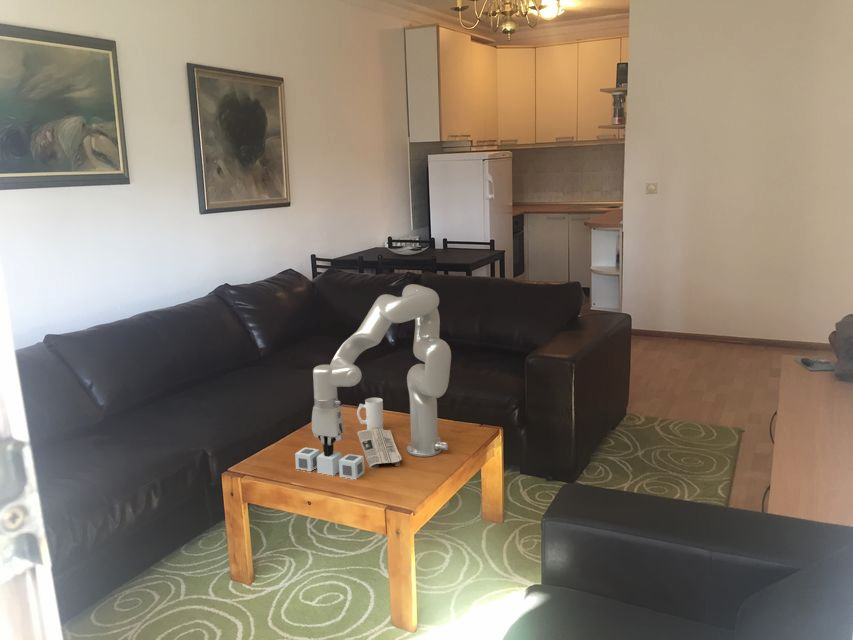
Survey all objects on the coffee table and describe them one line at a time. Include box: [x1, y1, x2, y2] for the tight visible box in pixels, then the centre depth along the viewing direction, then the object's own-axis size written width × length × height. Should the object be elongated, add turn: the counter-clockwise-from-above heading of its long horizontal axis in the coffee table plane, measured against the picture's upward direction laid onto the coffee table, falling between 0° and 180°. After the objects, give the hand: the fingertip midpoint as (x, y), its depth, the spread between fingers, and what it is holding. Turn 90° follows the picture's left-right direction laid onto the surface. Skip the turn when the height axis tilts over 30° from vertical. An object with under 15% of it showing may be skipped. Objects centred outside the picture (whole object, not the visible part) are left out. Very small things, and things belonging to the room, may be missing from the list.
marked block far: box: [294, 446, 321, 471], centre depth 250 cm, size 6×6×6 cm
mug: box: [356, 397, 384, 430], centre depth 284 cm, size 10×7×12 cm, turn 98°
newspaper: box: [356, 428, 403, 470], centre depth 264 cm, size 35×12×4 cm, turn 12°
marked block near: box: [338, 453, 365, 481], centre depth 243 cm, size 6×6×6 cm
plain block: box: [316, 451, 343, 477], centre depth 246 cm, size 6×6×6 cm
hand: (328, 454), depth 246 cm, fingers closed
